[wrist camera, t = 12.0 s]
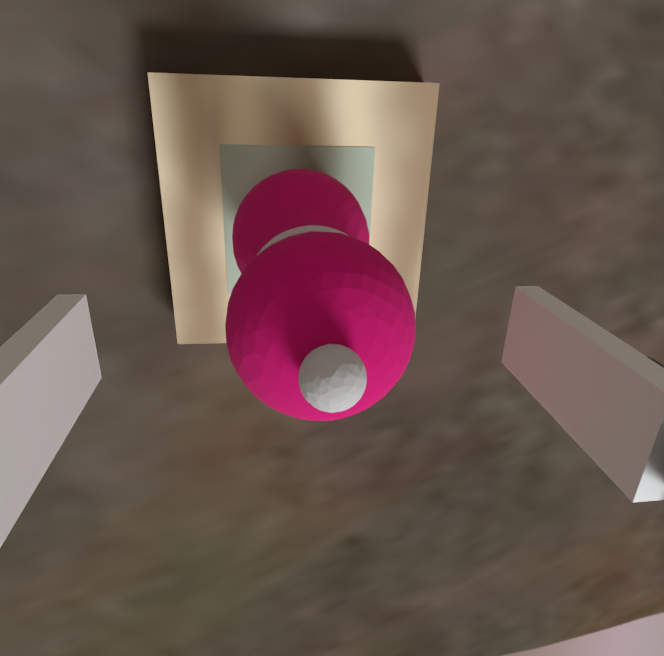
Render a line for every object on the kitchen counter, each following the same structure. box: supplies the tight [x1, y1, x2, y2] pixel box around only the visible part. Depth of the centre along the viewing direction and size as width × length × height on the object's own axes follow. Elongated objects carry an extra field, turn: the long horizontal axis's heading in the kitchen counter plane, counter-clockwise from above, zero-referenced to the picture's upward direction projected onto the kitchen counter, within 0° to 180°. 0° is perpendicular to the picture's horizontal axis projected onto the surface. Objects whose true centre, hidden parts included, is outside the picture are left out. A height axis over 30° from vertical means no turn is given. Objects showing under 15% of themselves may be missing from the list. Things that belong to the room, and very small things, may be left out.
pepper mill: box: [225, 169, 415, 421], centre depth 21 cm, size 7×7×20 cm
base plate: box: [147, 72, 439, 344], centre depth 31 cm, size 16×16×3 cm
